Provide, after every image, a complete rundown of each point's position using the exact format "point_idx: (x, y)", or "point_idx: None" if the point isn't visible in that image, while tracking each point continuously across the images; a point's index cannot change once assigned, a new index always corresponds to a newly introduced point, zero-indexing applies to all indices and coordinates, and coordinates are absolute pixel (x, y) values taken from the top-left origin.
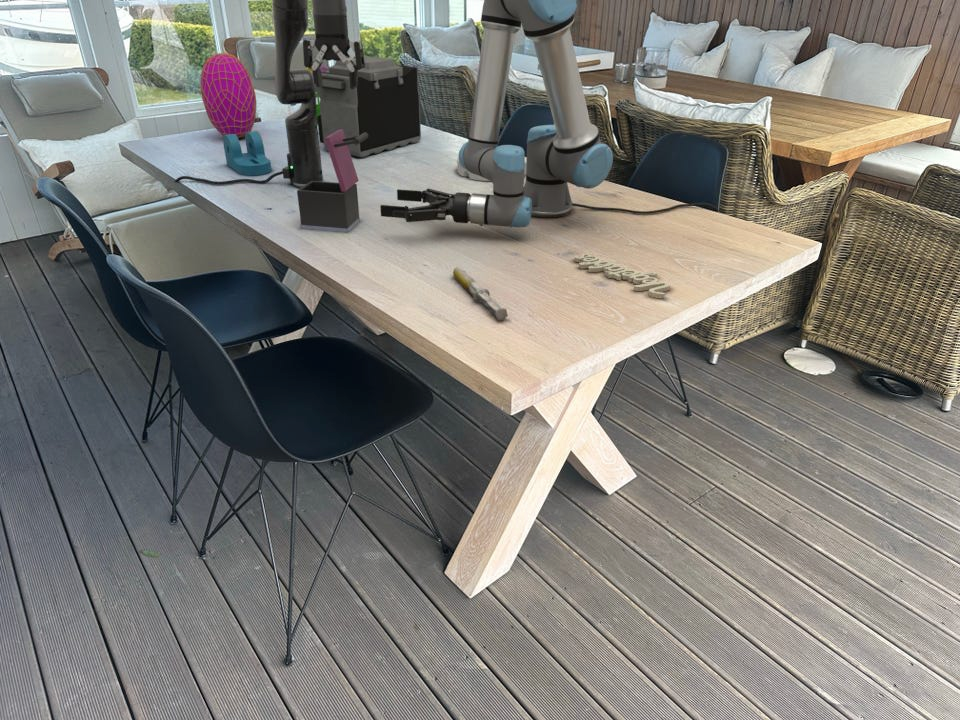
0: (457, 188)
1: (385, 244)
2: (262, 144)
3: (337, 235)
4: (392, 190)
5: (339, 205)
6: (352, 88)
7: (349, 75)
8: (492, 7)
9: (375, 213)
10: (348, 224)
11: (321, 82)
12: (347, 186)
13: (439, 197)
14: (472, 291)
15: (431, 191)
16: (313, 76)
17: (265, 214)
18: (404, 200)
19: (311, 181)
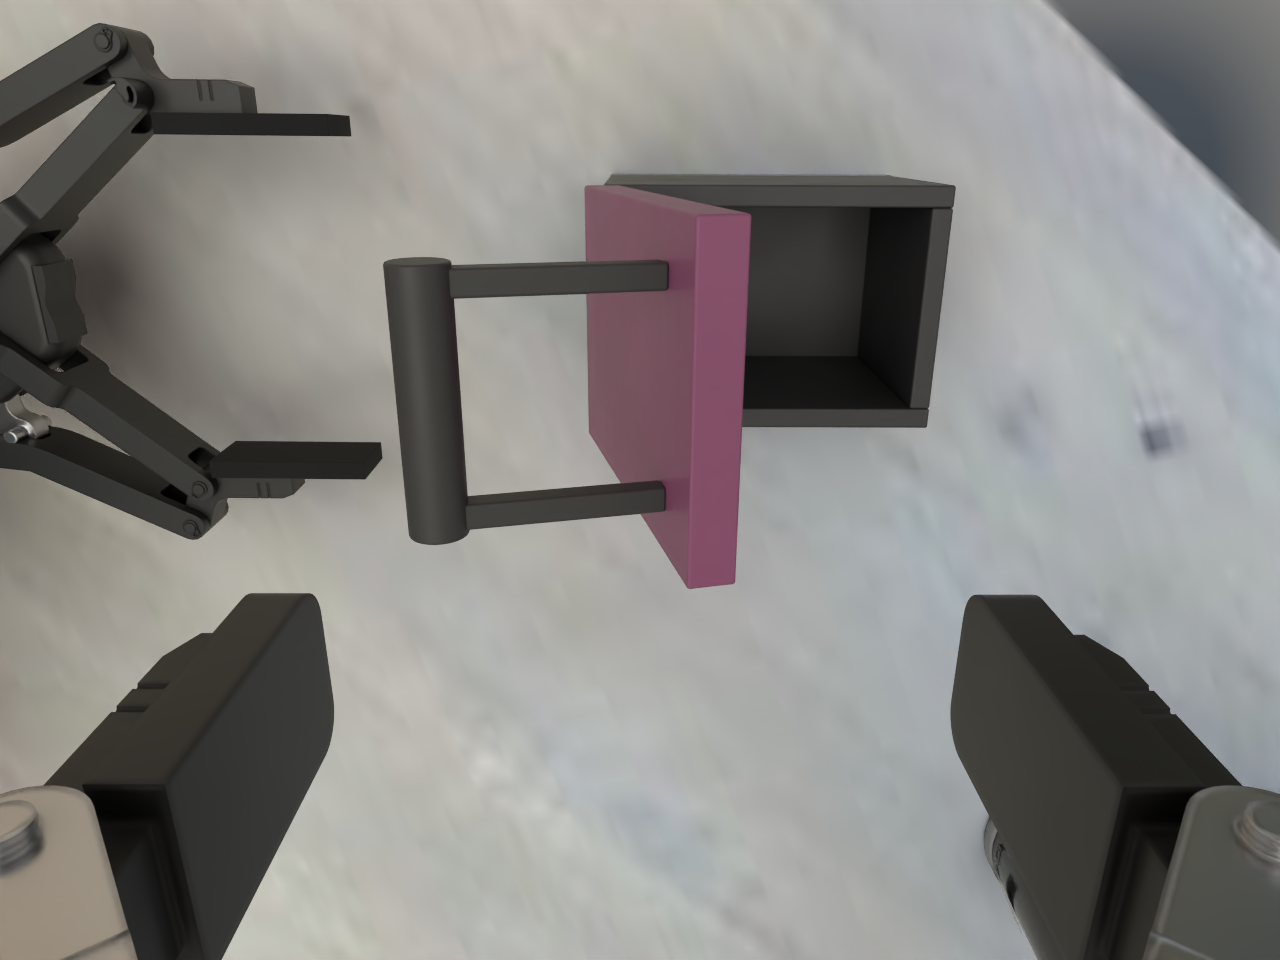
0: (318, 907)
1: (334, 27)
2: None
3: (649, 111)
4: (613, 825)
5: (645, 180)
6: (270, 593)
7: (193, 733)
8: None
9: None
10: None
11: (976, 740)
12: (588, 230)
13: (35, 362)
14: None
15: (161, 499)
16: (1185, 727)
17: (1155, 354)
18: (336, 442)
19: (919, 412)
